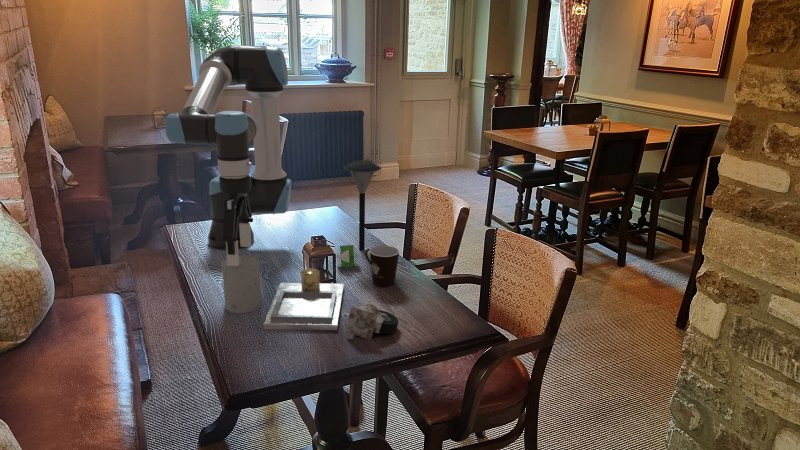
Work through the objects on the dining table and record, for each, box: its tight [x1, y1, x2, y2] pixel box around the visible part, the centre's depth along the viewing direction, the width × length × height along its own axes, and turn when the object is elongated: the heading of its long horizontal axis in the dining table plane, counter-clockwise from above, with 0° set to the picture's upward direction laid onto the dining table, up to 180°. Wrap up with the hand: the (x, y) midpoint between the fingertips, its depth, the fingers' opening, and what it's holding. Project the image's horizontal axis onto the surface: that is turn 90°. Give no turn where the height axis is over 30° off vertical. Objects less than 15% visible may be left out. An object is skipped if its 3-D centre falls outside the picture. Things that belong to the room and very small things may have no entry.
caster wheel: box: [345, 303, 400, 341], centre depth 141 cm, size 7×11×10 cm
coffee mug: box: [364, 245, 400, 288], centre depth 168 cm, size 12×9×10 cm
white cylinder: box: [221, 255, 263, 314], centre depth 150 cm, size 10×10×12 cm
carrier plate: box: [263, 268, 345, 331], centre depth 151 cm, size 24×18×6 cm
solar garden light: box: [343, 160, 382, 251], centre depth 188 cm, size 12×12×30 cm
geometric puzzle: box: [335, 244, 360, 268], centre depth 179 cm, size 7×7×8 cm
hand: (239, 255), depth 147 cm, fingers open, 13 cm apart
